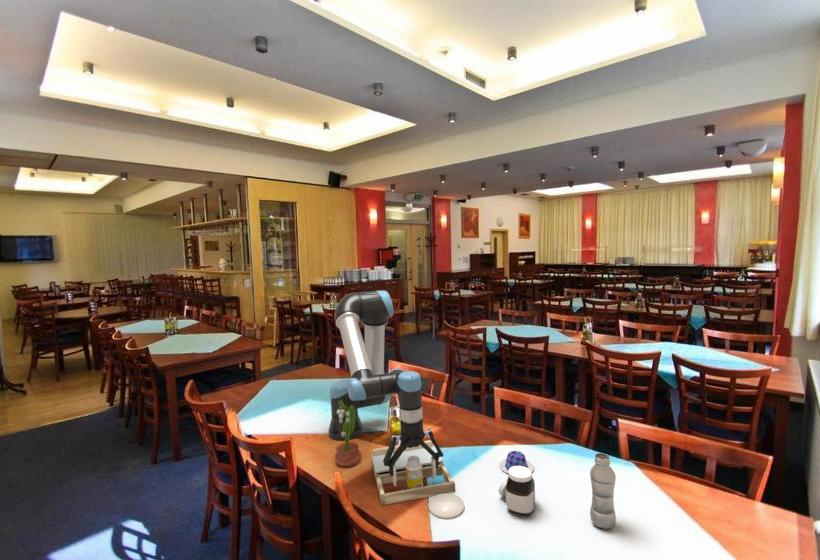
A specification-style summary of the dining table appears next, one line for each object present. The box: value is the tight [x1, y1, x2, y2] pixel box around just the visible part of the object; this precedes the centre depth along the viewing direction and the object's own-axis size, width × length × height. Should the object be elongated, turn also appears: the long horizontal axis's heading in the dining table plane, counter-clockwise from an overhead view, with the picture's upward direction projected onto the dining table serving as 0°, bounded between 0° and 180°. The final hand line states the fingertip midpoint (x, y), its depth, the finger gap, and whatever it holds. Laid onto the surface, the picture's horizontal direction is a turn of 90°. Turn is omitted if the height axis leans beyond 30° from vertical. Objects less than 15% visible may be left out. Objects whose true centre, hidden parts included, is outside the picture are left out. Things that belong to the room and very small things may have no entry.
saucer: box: [428, 493, 465, 520], centre depth 124 cm, size 11×11×1 cm
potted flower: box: [334, 400, 362, 467], centre depth 153 cm, size 12×10×25 cm
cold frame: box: [370, 456, 456, 506], centre depth 142 cm, size 26×24×3 cm
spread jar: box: [498, 466, 536, 516], centre depth 124 cm, size 12×11×12 cm
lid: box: [370, 439, 444, 474], centre depth 148 cm, size 12×24×3 cm, turn 103°
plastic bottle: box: [589, 452, 617, 530], centre depth 113 cm, size 6×7×20 cm
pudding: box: [499, 450, 535, 475], centre depth 145 cm, size 12×12×5 cm
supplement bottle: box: [405, 456, 424, 490], centre depth 135 cm, size 6×6×10 cm
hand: (414, 480), depth 135 cm, fingers open, 13 cm apart
